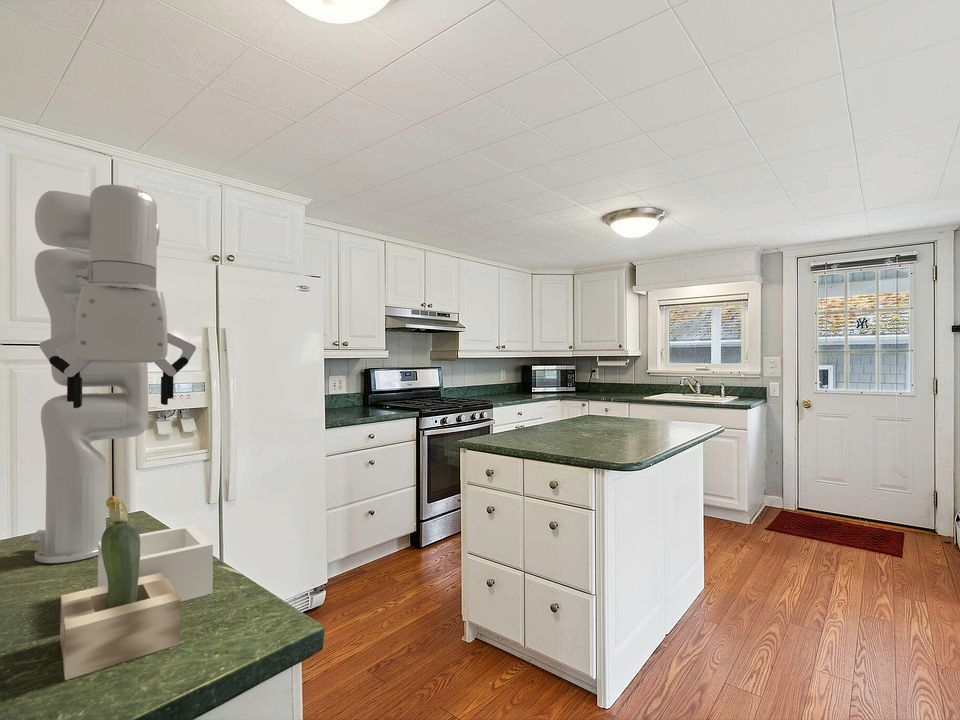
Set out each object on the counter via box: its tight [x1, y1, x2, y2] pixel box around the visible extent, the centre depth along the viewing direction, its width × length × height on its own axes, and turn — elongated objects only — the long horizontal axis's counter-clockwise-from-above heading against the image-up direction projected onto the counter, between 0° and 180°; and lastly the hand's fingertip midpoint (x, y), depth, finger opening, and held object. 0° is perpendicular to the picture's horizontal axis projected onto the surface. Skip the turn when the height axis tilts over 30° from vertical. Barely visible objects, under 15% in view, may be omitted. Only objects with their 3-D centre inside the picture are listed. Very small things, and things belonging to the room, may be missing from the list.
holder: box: [59, 572, 182, 681], centre depth 69 cm, size 12×12×6 cm
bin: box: [97, 524, 214, 603], centre depth 84 cm, size 14×14×8 cm
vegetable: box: [101, 495, 140, 610], centre depth 69 cm, size 4×4×20 cm
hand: (122, 405), depth 69 cm, fingers open, 9 cm apart
